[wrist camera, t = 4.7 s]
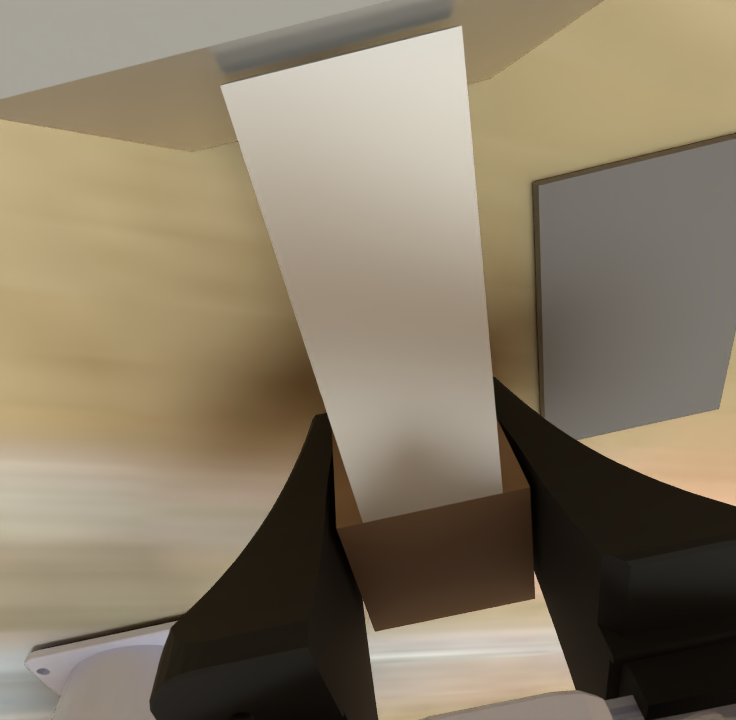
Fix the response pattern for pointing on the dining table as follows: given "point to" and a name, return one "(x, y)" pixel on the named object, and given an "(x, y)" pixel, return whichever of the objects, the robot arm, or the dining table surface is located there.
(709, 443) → the dining table surface
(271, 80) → the brown white angled block
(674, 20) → the dining table surface
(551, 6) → the tile
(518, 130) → the dining table surface
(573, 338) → the mat
